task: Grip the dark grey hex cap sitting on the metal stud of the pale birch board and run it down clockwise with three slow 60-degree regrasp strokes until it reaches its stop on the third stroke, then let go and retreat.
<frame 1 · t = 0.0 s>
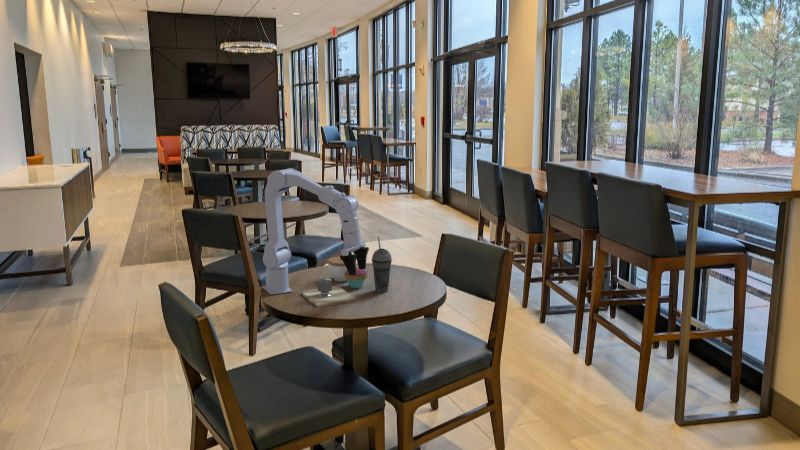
hand: (357, 271, 198), 11 cm above the table, tool pointing down, fingers open, 7 cm apart
cupcake: (356, 287, 217), on the table
beverage cup: (381, 291, 212), on the table
lidded jar: (342, 279, 226), on the table
cap: (324, 284, 203), point 5 cm above the table, hinge at 0.0°
board: (328, 297, 204), on the table
stud: (324, 297, 204), resting on board
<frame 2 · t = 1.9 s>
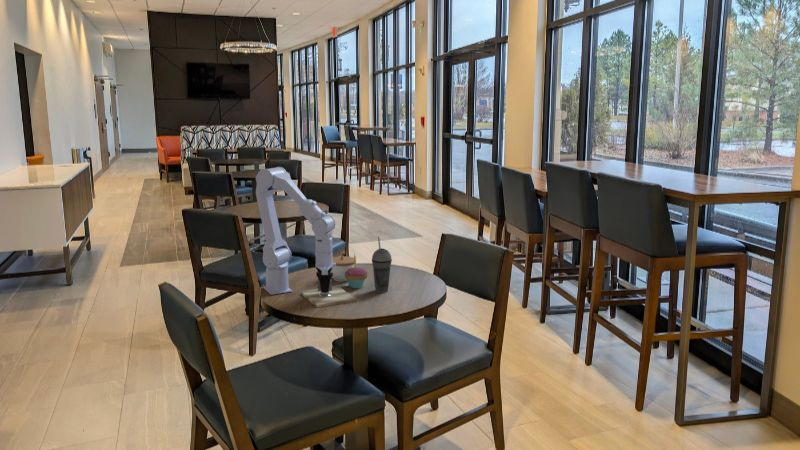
hand: (324, 289, 203), 3 cm above the table, tool pointing down, fingers closed on cap, 6 cm apart
cap: (324, 284, 203), point 5 cm above the table, hinge at 0.0°, touching gripper
everything else where it was.
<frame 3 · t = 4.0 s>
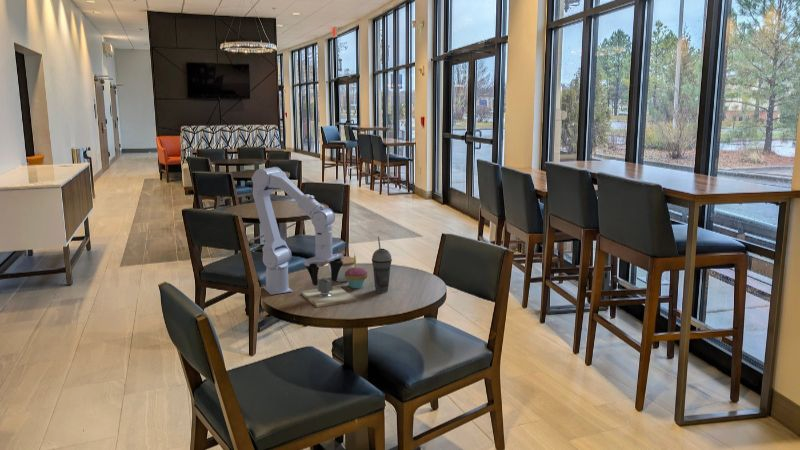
hand: (324, 282, 203), 5 cm above the table, tool pointing down, fingers open, 7 cm apart
cap: (324, 284, 203), point 5 cm above the table, hinge at 48.1°
everything else where it was.
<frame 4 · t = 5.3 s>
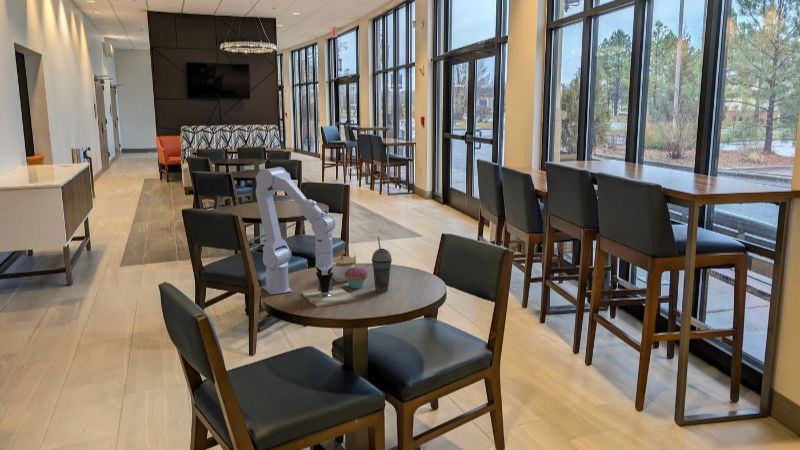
hand: (324, 289, 203), 3 cm above the table, tool pointing down, fingers closed on cap, 5 cm apart
cap: (324, 284, 203), point 5 cm above the table, hinge at 48.1°, touching gripper
everything else where it was.
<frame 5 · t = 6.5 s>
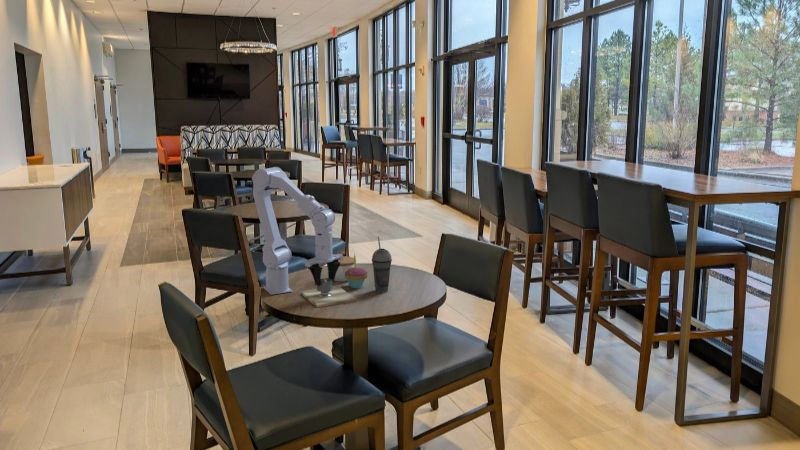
hand: (324, 283, 203), 5 cm above the table, tool pointing down, fingers closed on cap, 5 cm apart
cap: (324, 284, 203), point 5 cm above the table, hinge at 77.8°, touching gripper
everything else where it was.
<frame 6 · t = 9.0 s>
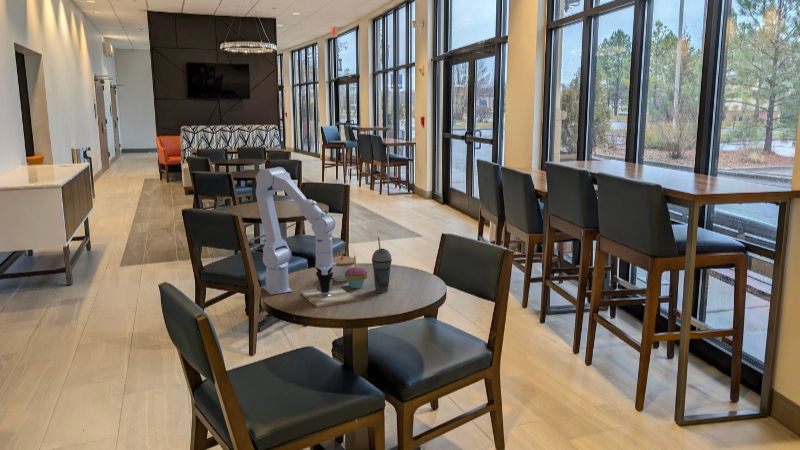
hand: (324, 289, 203), 3 cm above the table, tool pointing down, fingers closed on cap, 5 cm apart
cap: (324, 284, 203), point 5 cm above the table, hinge at 83.2°, touching gripper
everything else where it was.
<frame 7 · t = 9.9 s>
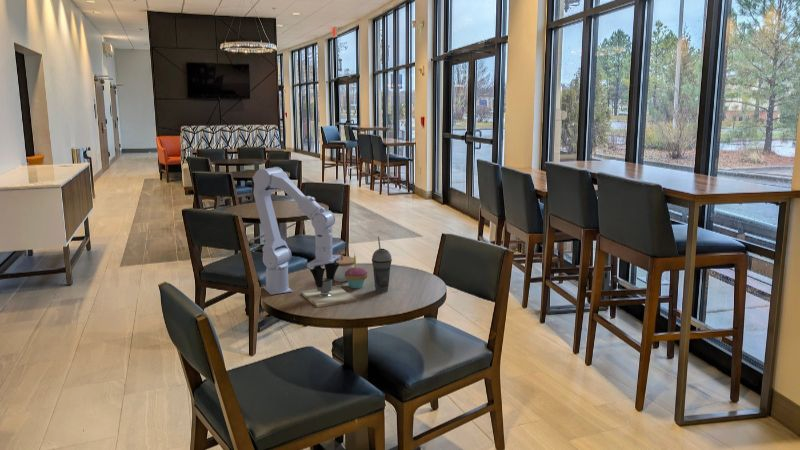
hand: (324, 284, 203), 5 cm above the table, tool pointing down, fingers closed on cap, 5 cm apart
cap: (324, 284, 203), point 5 cm above the table, hinge at 132.9°, touching gripper
everything else where it was.
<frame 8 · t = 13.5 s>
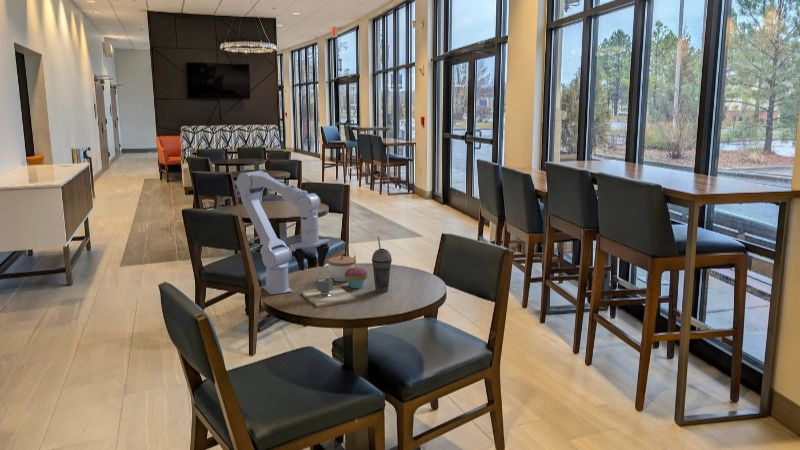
hand: (311, 268, 203), 10 cm above the table, tool pointing down, fingers open, 7 cm apart
cap: (324, 284, 203), point 5 cm above the table, hinge at 149.9°
everything else where it was.
at the end: cap at +150° (first picture: +0°); the gripper is holding nothing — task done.
